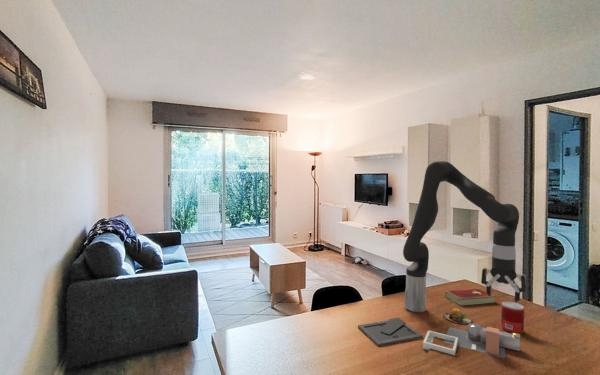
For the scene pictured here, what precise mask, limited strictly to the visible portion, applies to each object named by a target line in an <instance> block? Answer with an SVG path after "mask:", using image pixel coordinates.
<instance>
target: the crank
mask: <svg viewBox="0 0 600 375" xmlns="http://www.w3.org/2000/svg"><path fill="white" fill-rule="evenodd" d="M486 330H487V327H483V326H482V325H480V324H478V323H474V322H472V323H469V324H467V331H468V338H469V339H470V340H472V341H475V342H485V343H486ZM520 341H521V334H519V333H515V332H513V333H509V332H506V331H505V332H504V331H500V330H499V346H501V347H505V349H509V350H514V351H517V352H520V345H521V344H520V343H521V342H520Z"/></svg>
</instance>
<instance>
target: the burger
mask: <svg viewBox="0 0 600 375" xmlns="http://www.w3.org/2000/svg"><path fill="white" fill-rule="evenodd" d="M442 318H443V319H445V320H446V321H448V322H451V323H453V324H458V325H468V324H469V323H473V319H472V318H471V317H470V316H468V315H466V313H465V314H464V313H463V312H462V310H461V309H459V308H457V307H454V308H452V309H451V310H450V311H449V312H448V311H447V312H445V313H443V314H442Z"/></svg>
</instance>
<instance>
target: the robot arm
mask: <svg viewBox="0 0 600 375" xmlns="http://www.w3.org/2000/svg"><path fill="white" fill-rule="evenodd" d="M441 182H446V183H448V184H451V185H453V186H454V187H456V188H457V189H458V190H459V191H460V193H461V194H462V196H463V197H464V198H465V199H467V200H468V201H469V202H470V203H472V204H474V205H475V206H476V207H478V208H480V209H481V211H482V212H483V213H484V214H485V215H486V216H487V217H488V218H490V219H491V220H492V221H494V222H495V223H497V227H496V228H495V229H494V230H493V233H492V234H493V236H492V247H491V249H492V250H491V269H490V268H487V267H484V268H482V270H481V279H480V280H481V281H480V282H481V284H482V285H484V286H486V292H487V294H488V296H491V294H492V293H493V290H492V289H493V287H492V285H493V284H494V283H495V282H497V283H499V284H504V285H510V286H511V287H512V288H513V289H514V291H515V292H514V303H518V302H519V301H520V299H521V293H526V291H527V276H526V274H524V273H522V274H517V272H516V264H517V262H516V259H517V251H516V233H517V229H518V225H519V220H520V212H519V209H518V208H517V207H516V205H515V204H512V203H501V202H499V201H498V200H497V199H496V197H495V195H494V194H493V193H491V192H489V191H487V190H486V189H485V188H483V187H482V186H480V185H478V184H476V183H475V182H473V180H471V179H470V178H468V177H467V176H466V175H465V174H464V173H462V172H461V171H460V170H459V169H458V168H456V166H454V165H453V164H452V163H451V162H449V161H445V160H444V161H443V160H441V161H440V160H439V161H432V162H430V163H429V164H428V165H427V167H426V169H425V174H424V179H423V184H422V189H421V193H420V197H419V200H418V204H417V206H416V209H415V210H416V211H415V213H414V219H413V222H412V224H411V227H410V231H409V233H408V236H407V238H406V240H405V243H404V246H403V250H402V255H403V258H404V260H405V261H406V262H409V263H411V264H410V265H409V266H408V267H406V272H405V274H406V276H405V290H404V309H406V310H408V311H410V312H414V313H424V312H425V311H426V308H427V307H426V305H427V304H426V300H427V298H426V297H427V296H426V295H427V294H426V293H427V289H426V288H427V272H428V269H429V259H430V256H429V255H430V253H429V252H430V251H429V247H428V246H427V244H426V243H424V241H423V242H422V239H423V237H425V235H426V234H427V233H428V232H429V231H430V230H431V228H432V227H433V226H434V225H435V223H436V222H435V221H436V220H437V217H438V213H439V204H438V196H437V195H438V190H439V186H440V185H441ZM489 273H490V275H491V276H492V278H491V279H490V280H489V281H488V280H487V276H488V275H489ZM516 278H517V279H518V280H519V281H520V283H521V284H520V285H521V287H519V285H518V283H517V282H516V281H515V279H516ZM492 295H493V294H492Z"/></svg>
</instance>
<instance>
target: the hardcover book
mask: <svg viewBox="0 0 600 375" xmlns="http://www.w3.org/2000/svg"><path fill="white" fill-rule="evenodd" d="M444 297H445V298H447V299H449V300H451V301H452V302H454V303H456V304H458V305H459V306H470V305H471V306H472V305H481V304H482V305H483V304H493V303H495V298H496V295H494V294H491V296H488V294H487V290H486V291H485V290H484V289H482V288H479V287H477V288H466V289H453V290H446V291H445V296H444Z"/></svg>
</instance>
